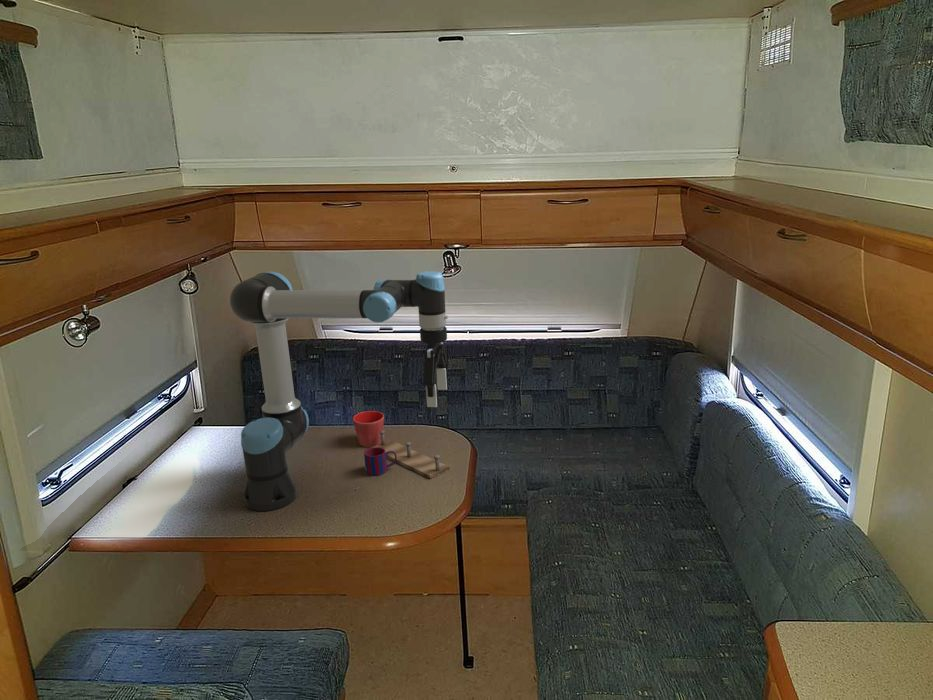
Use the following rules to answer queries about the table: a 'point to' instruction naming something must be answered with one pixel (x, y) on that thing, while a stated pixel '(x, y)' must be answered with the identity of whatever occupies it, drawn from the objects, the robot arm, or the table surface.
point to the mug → (376, 461)
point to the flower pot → (369, 427)
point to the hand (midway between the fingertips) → (437, 397)
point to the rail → (412, 458)
